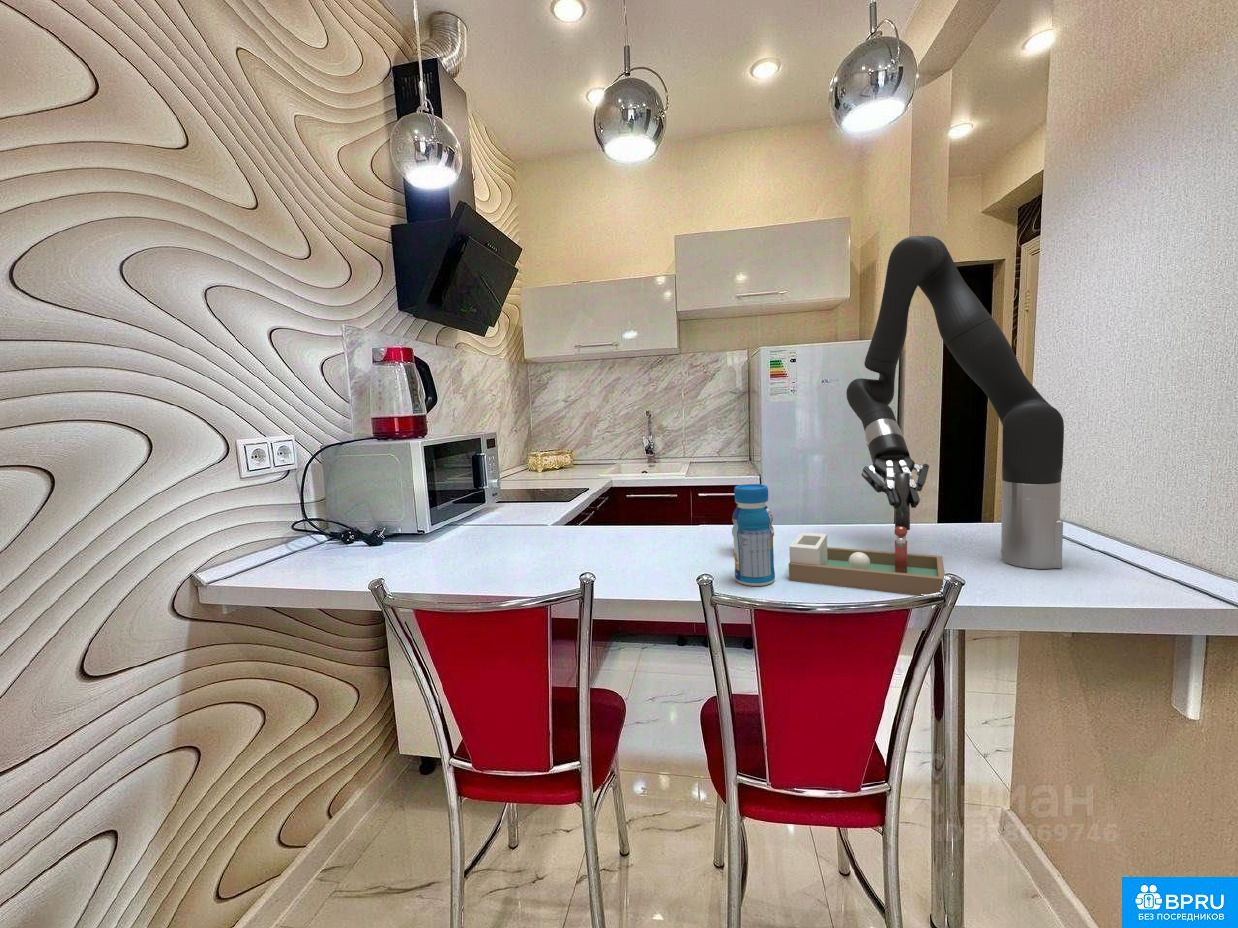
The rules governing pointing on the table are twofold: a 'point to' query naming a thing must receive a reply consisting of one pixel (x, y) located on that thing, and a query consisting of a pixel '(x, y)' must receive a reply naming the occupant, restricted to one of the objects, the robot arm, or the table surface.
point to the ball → (859, 561)
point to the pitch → (833, 569)
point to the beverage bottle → (753, 536)
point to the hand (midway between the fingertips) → (905, 505)
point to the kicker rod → (902, 520)
